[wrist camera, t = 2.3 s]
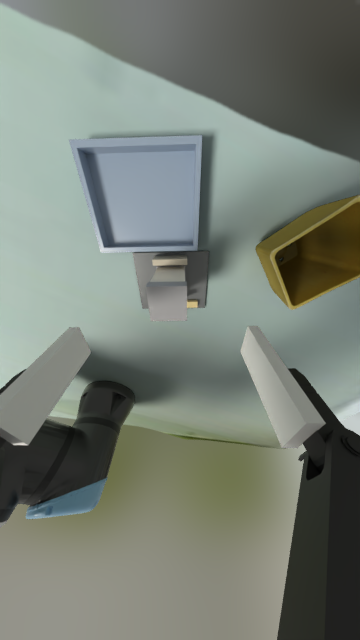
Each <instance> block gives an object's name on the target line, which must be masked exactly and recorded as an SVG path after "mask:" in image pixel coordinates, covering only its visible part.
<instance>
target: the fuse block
mask: <svg viewBox="0 0 360 640" xmlns="http://www.w3.org/2000/svg"><path fill="white" fill-rule="evenodd" d="M133 257H134V263H135V268H136V274H137V280H138V285H139V291H140V296H141V302H142V308H143V309H148V308H149V306H148V299H147V293H146V285H147V283H148V282H150V281H151V279H152V277H153V275H154V273H155V271H156V269H157V268H156V266H163V265H185V281H187V308H205V297H206V284H207V272H208V259H209V251H183V252H134V253H133Z"/></svg>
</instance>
